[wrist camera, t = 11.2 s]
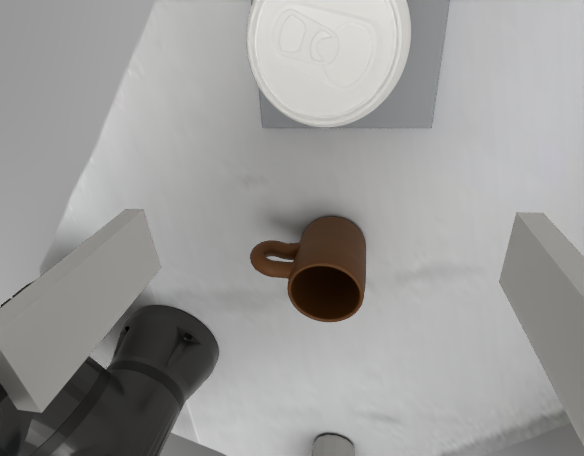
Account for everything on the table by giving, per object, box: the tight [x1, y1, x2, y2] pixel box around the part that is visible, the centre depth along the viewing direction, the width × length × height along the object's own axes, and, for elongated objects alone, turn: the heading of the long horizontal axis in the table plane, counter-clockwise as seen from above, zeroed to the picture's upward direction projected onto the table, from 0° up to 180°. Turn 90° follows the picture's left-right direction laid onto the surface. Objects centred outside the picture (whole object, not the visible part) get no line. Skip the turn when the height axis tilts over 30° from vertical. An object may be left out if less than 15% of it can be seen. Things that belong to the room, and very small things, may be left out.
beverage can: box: [246, 0, 411, 127], centre depth 22 cm, size 8×8×12 cm
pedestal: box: [251, 0, 450, 128], centre depth 29 cm, size 16×16×6 cm
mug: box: [250, 217, 366, 322], centre depth 39 cm, size 12×8×9 cm, turn 74°
